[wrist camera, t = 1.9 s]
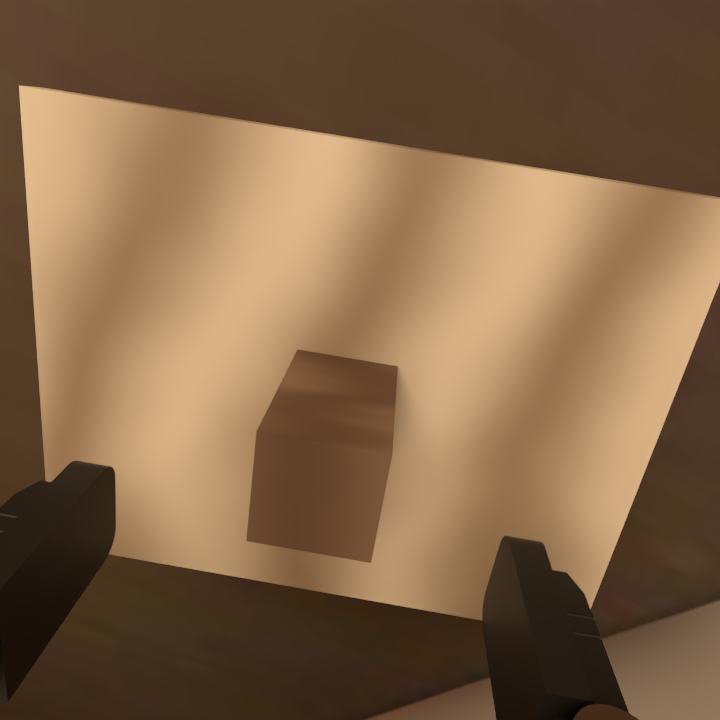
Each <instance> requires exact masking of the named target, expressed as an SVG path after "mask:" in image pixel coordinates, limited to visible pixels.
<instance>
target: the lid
mask: <svg viewBox="0 0 720 720" xmlns="http://www.w3.org/2000/svg"><path fill="white" fill-rule="evenodd" d="M19 93H20V108H21V122H22V137H23V152H24V167H25V181H26V196H27V211H28V226H29V240H30V255H31V270H32V285H33V299H34V314H35V329H36V343H37V358H38V373H39V388H40V402H41V417H42V432H43V447H44V461H45V476H46V481H47V482H52V481H53V480H54V479H55V478H56V477H57V476H58V475H59V474H60V473H61V472H62V471H63V469H64V468H65V467H66V466H67V465H68V464H70V463H71V462H72V461H82V462H87V463H93V464H99V465H105V466H111V467H113V469H114V471H115V489H116V531H115V537H114V541H113V545H112V547H111V550H110V552H109V554H111V555H116V556H122V557H128V558H133V559H139V560H144V561H150V562H156V563H161V564H167V565H173V566H178V567H184V568H190V569H195V570H201V571H206V572H212V573H218V574H223V575H229V576H235V577H240V578H246V579H251V580H257V581H263V582H268V583H274V584H280V585H285V586H291V587H296V588H302V589H308V590H313V591H319V592H325V593H330V594H336V595H341V596H347V597H353V598H358V599H364V600H370V601H375V602H381V603H386V604H392V605H398V606H403V607H409V608H415V609H420V610H426V611H431V612H437V613H443V614H448V615H454V616H460V617H465V618H471V619H476V620H482V611H483V601H484V596H485V592H486V588H487V585H488V582H489V578H490V575H491V572H492V568H493V565H494V562H495V558H496V555H497V552H498V548H499V545H500V542H501V540H502V538H503V537H504V536H511V537H517V538H523V539H528V540H534V541H540V542H542V543H543V544H544V546H545V549H546V552H547V555H548V558H549V561H550V564H551V567H552V570H555V571H561V572H567V573H568V575H569V576H570V577H571V578H572V579H573V581H574V582H575V583H576V584H577V585H578V587H579V588H580V589H581V590H582V591H583V593H584V594H585V597H586V599H587V602H588V605H589V607H590V609H591V607H592V604H593V601H594V599H595V596H596V594H597V591H598V589H599V586H600V584H601V581H602V579H603V576H604V574H605V571H606V569H607V566H608V563H609V561H610V558H611V556H612V553H613V551H614V548H615V546H616V543H617V541H618V538H619V536H620V533H621V530H622V528H623V525H624V523H625V520H626V518H627V515H628V513H629V510H630V508H631V505H632V503H633V500H634V498H635V495H636V492H637V490H638V487H639V485H640V482H641V480H642V477H643V475H644V472H645V470H646V467H647V465H648V462H649V459H650V457H651V454H652V452H653V449H654V447H655V444H656V442H657V439H658V437H659V434H660V432H661V429H662V427H663V424H664V421H665V419H666V416H667V414H668V411H669V409H670V406H671V404H672V401H673V399H674V396H675V394H676V391H677V388H678V386H679V383H680V381H681V378H682V376H683V373H684V371H685V368H686V366H687V363H688V361H689V358H690V356H691V353H692V350H693V348H694V345H695V343H696V340H697V338H698V335H699V333H700V330H701V328H702V325H703V323H704V320H705V318H706V315H707V312H708V310H709V307H710V305H711V302H712V300H713V297H714V295H715V292H716V290H717V287H718V285H719V282H720V197H715V196H708V195H702V194H696V193H690V192H684V191H678V190H671V189H665V188H659V187H653V186H647V185H641V184H634V183H628V182H622V181H616V180H610V179H603V178H597V177H591V176H585V175H579V174H573V173H566V172H560V171H554V170H548V169H542V168H536V167H529V166H523V165H517V164H511V163H505V162H499V161H492V160H486V159H480V158H474V157H468V156H462V155H455V154H449V153H443V152H437V151H431V150H424V149H418V148H412V147H406V146H400V145H394V144H387V143H381V142H375V141H369V140H363V139H357V138H350V137H344V136H338V135H332V134H326V133H320V132H313V131H307V130H301V129H295V128H289V127H282V126H276V125H270V124H264V123H258V122H252V121H245V120H239V119H233V118H227V117H221V116H215V115H208V114H202V113H196V112H190V111H184V110H178V109H171V108H165V107H159V106H153V105H147V104H140V103H134V102H128V101H122V100H116V99H110V98H103V97H97V96H91V95H85V94H79V93H73V92H66V91H60V90H54V89H48V88H42V87H30V86H19Z"/></svg>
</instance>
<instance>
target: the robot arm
mask: <svg viewBox="0 0 720 720" xmlns="http://www.w3.org/2000/svg"><path fill="white" fill-rule="evenodd" d="M115 531H116V489H115V471H114V469H113V467H111V466H105V465H99V464H93V463H87V462H82V461H72V462H71V463H70V464H68V465H67V466H66V467H65V468H64V469H63V471H62V472H61V473H60V474H59V475H58V476H57V477H56V478H55V479H54V480H53V481H52V482H47V481H39V482H37V483H35V484H33V485H31V486H29V487H27V488H25V489H23V490H22V491H20V492H18V493H16V494H14V495H13V496H12V497H11V498H10V499H9V500H8V501H7V502H6V503H5V504H4V505H3V506H2V507H1V508H0V701H4V702H8V701H9V700H10V698H11V697H12V695H13V694H14V693H15V691H16V690H17V688H18V687H19V685H20V684H21V682H22V681H23V679H24V678H25V677H26V675H27V674H28V672H29V671H30V669H31V668H32V666H33V665H34V663H35V662H36V660H37V659H38V658H39V656H40V655H41V653H42V652H43V650H44V649H45V647H46V646H47V644H48V643H49V642H50V640H51V639H52V637H53V636H54V634H55V633H56V631H57V630H58V628H59V627H60V625H61V624H62V623H63V621H64V620H65V618H66V617H67V615H68V614H69V612H70V611H71V609H72V608H73V606H74V605H75V604H76V602H77V601H78V599H79V598H80V596H81V595H82V593H83V592H84V590H85V589H86V588H87V586H88V585H89V583H90V582H91V580H92V579H93V577H94V576H95V574H96V573H97V571H98V570H99V569H100V567H101V566H102V564H103V563H104V561H105V560H106V558H107V556H108V554H109V552H110V550H111V547H112V545H113V541H114V537H115ZM482 622H483V631H484V638H485V645H486V651H487V658H488V665H489V672H490V678H491V685H492V692H493V699H494V705H495V712H496V719H497V720H638V719H637V718H635V717H634V716H632V715H631V714H629V712H628V710H627V707H626V705H625V702H624V699H623V696H622V693H621V691H620V688H619V685H618V683H617V680H616V677H615V675H614V672H613V669H612V667H611V664H610V661H609V658H608V656H607V653H606V651H605V648H604V645H603V642H602V640H600V634H599V631H598V629H597V626H596V623H595V621H593V615H592V613H591V610H590V607H589V605H588V602H587V599H586V597H585V594H584V593H583V591H582V590H581V589H580V588H579V587H578V585H577V584H576V583H575V582H574V581H573V579H572V578H571V577H570V576H569V575H568V573H567V572H561V571H555V570H552V567H551V564H550V561H549V558H548V555H547V552H546V549H545V546H544V544H543V543H542V542H540V541H534V540H528V539H523V538H517V537H511V536H504V537H503V538H502V540H501V542H500V545H499V548H498V552H497V555H496V558H495V562H494V565H493V568H492V572H491V575H490V578H489V582H488V585H487V588H486V592H485V596H484V601H483V611H482Z"/></svg>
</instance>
